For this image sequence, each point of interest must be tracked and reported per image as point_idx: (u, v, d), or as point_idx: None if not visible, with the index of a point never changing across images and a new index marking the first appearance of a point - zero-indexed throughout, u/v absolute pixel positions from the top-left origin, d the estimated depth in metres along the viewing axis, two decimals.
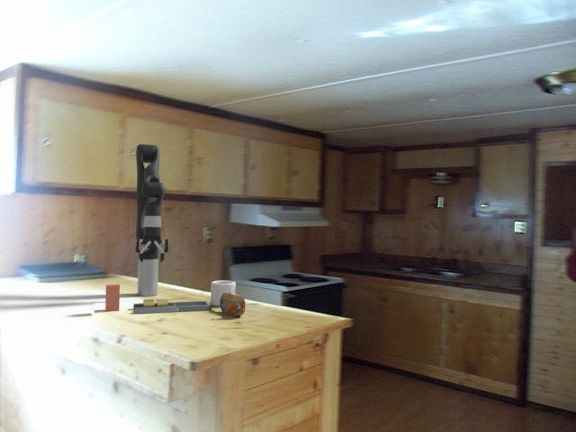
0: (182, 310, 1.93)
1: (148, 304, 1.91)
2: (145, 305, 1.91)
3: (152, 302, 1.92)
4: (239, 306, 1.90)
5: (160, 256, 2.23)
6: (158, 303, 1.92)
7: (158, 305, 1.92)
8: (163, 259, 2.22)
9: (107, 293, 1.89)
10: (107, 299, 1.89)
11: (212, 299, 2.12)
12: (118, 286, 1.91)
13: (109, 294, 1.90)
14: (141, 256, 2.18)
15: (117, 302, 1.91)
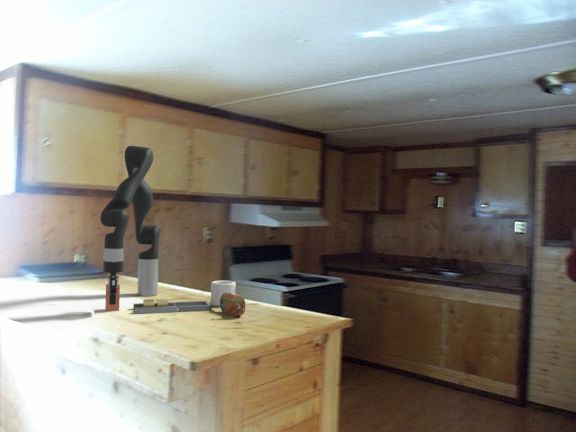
0: (182, 310, 1.93)
1: (148, 304, 1.91)
2: (145, 305, 1.91)
3: (152, 302, 1.92)
4: (239, 306, 1.90)
5: None
6: (158, 303, 1.92)
7: (158, 305, 1.92)
8: None
9: (107, 293, 1.89)
10: (107, 299, 1.89)
11: (212, 299, 2.12)
12: (118, 286, 1.91)
13: (109, 294, 1.90)
14: (115, 298, 1.90)
15: (117, 302, 1.91)
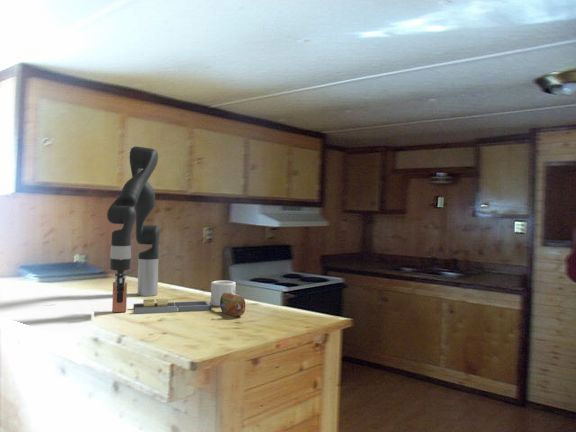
0: (182, 310, 1.93)
1: (148, 304, 1.91)
2: (145, 305, 1.91)
3: (152, 302, 1.92)
4: (239, 306, 1.90)
5: None
6: (158, 303, 1.92)
7: (158, 305, 1.92)
8: None
9: (114, 291, 1.87)
10: (114, 297, 1.87)
11: (212, 299, 2.12)
12: (125, 284, 1.88)
13: (116, 292, 1.87)
14: (122, 296, 1.87)
15: (124, 300, 1.88)
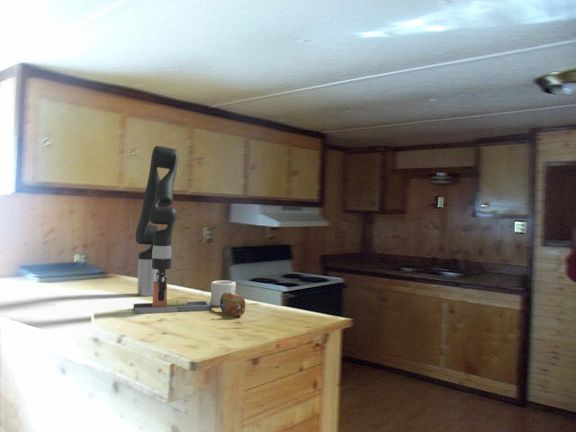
0: (182, 310, 1.93)
1: (170, 303, 1.94)
2: (167, 304, 1.94)
3: (174, 301, 1.94)
4: (239, 306, 1.90)
5: None
6: (178, 302, 1.95)
7: (178, 304, 1.95)
8: None
9: (155, 290, 1.92)
10: (155, 296, 1.92)
11: (212, 299, 2.12)
12: None
13: (157, 291, 1.92)
14: (163, 294, 1.93)
15: (164, 299, 1.94)
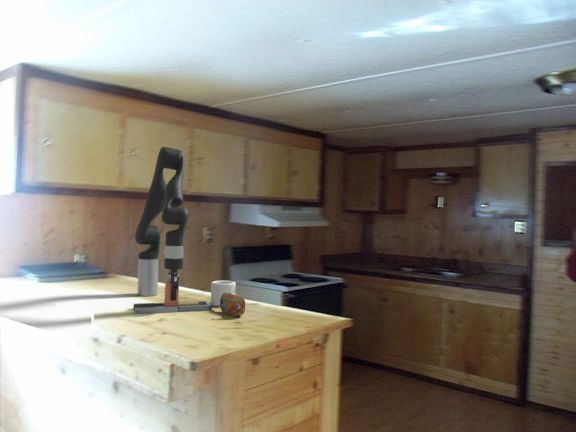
0: (182, 310, 1.93)
1: (182, 304, 1.96)
2: (179, 304, 1.95)
3: (186, 302, 1.96)
4: (239, 306, 1.90)
5: None
6: (189, 303, 1.97)
7: (189, 305, 1.97)
8: None
9: (167, 289, 1.94)
10: (167, 296, 1.94)
11: (212, 299, 2.12)
12: None
13: (169, 291, 1.94)
14: (175, 294, 1.94)
15: (176, 299, 1.95)
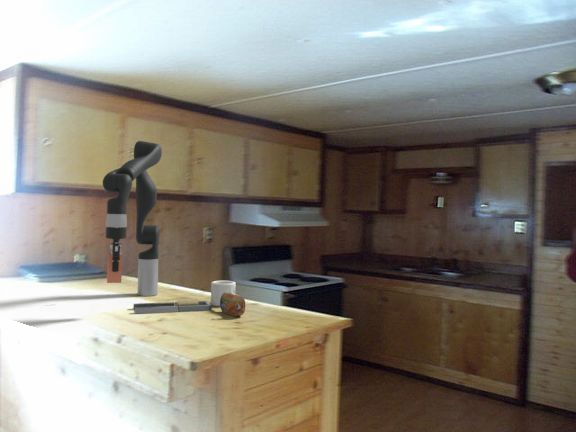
0: (182, 310, 1.93)
1: (182, 304, 1.96)
2: (179, 304, 1.95)
3: (186, 302, 1.96)
4: (239, 306, 1.90)
5: None
6: (189, 303, 1.97)
7: (189, 305, 1.97)
8: None
9: (109, 261, 1.84)
10: (109, 268, 1.84)
11: (212, 299, 2.12)
12: (121, 255, 1.85)
13: (111, 262, 1.84)
14: (118, 265, 1.84)
15: (119, 271, 1.85)
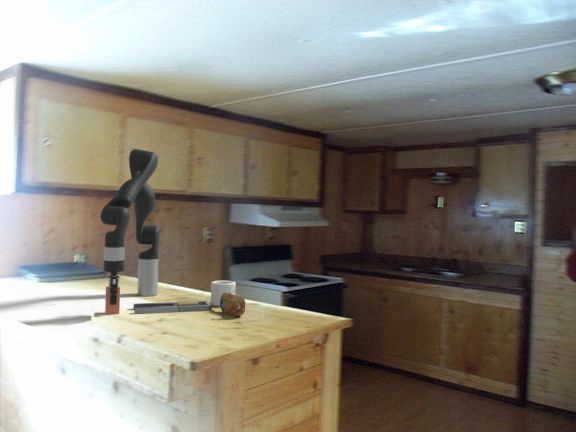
0: (182, 310, 1.93)
1: (182, 304, 1.96)
2: (179, 304, 1.95)
3: (186, 302, 1.96)
4: (239, 306, 1.90)
5: None
6: (189, 303, 1.97)
7: (189, 305, 1.97)
8: None
9: (107, 295, 1.84)
10: (107, 302, 1.84)
11: (212, 299, 2.12)
12: (118, 288, 1.85)
13: (109, 296, 1.84)
14: (116, 298, 1.84)
15: (117, 305, 1.85)
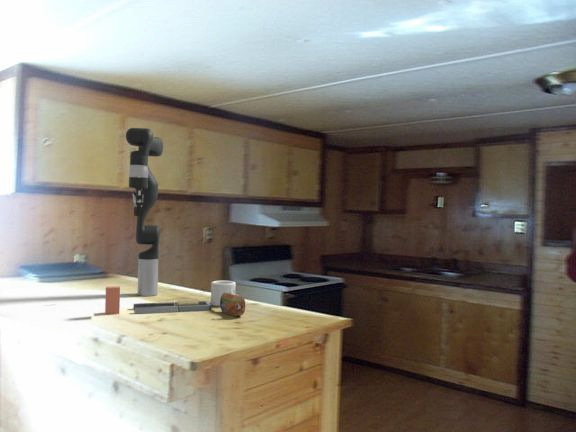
0: (182, 310, 1.93)
1: (182, 304, 1.96)
2: (179, 304, 1.95)
3: (186, 302, 1.96)
4: (239, 306, 1.90)
5: (134, 210, 2.04)
6: (189, 303, 1.97)
7: (189, 305, 1.97)
8: None
9: (107, 295, 1.84)
10: (107, 302, 1.84)
11: (212, 299, 2.12)
12: (118, 288, 1.85)
13: (109, 297, 1.84)
14: (140, 210, 1.96)
15: (117, 305, 1.85)
